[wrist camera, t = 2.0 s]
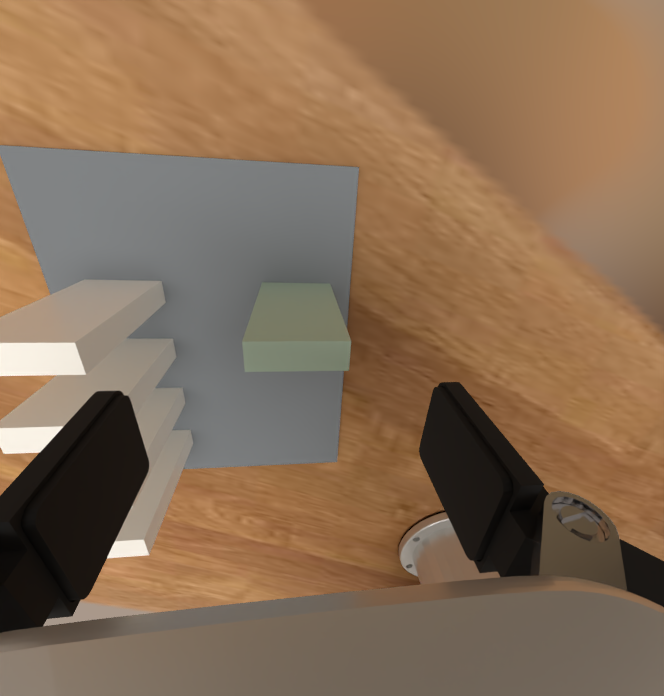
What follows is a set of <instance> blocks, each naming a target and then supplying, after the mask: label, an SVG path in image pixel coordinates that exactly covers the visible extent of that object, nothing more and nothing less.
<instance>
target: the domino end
mask: <svg viewBox="0 0 664 696" xmlns="http://www.w3.org/2000/svg"><path fill="white" fill-rule="evenodd" d="M242 346H243V357H244V369H245V372H284V371H349V363H350V351H351V339H350V336H349V334H348V331H347V328H346V326H345V323H344V320H343V317H342V315H341V312H340V309H339V306H338V304H337V301H336V298H335V296H334V293H333V290H332V287H331V285H330V284H325V283H271V282H262V284H261V287H260V290H259V293H258V296H257V299H256V302H255V305H254V308H253V311H252V314H251V317H250V320H249V323H248V326H247V329H246V332H245V335H244V337H243V340H242Z"/></svg>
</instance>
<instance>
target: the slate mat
mask: <svg viewBox="0 0 664 696" xmlns="http://www.w3.org/2000/svg"><path fill="white" fill-rule="evenodd" d="M0 156H1V158H2V161H3V164H4V167H5V169H6V172H7V175H8V178H9V181H10V183H11V186H12V189H13V192H14V194H15V197H16V200H17V203H18V205H19V208H20V211H21V214H22V217H23V219H24V222H25V225H26V228H27V230H28V233H29V236H30V239H31V242H32V244H33V247H34V250H35V253H36V255H37V258H38V261H39V264H40V266H41V269H42V272H43V275H44V278H45V280H46V283H47V286H48V289H49V291H50V294H53V293H56V292H58V291H60V290H62V289H65V288H67V287H69V286H71V285H74V284H76V283H78V282H80V281H83V280H140V281H162V286H163V291H164V296H165V301H166V303H165V304H164V305H163V306H161V307H160V308H159V309H158V310H157V311H156V312H155V313H154V314H153V315H152V316H150V317H149V318H148V319H147V320H146V321H145V322H144V323H143V324H142V325H140V326H139V327H138V328H137V329H136V330H135V331H134V332H133V333H132V334H130V335H129V336H128V337H127V338H126V339H173V342H174V347H175V352H176V358H175V360H174V361H173V363H172V364H171V365H170V367H169V368H168V370H167V371H166V373H165V374H164V376H163V377H162V378H161V380H160V381H159V383H158V384H157V386H156V387H155V388H183V393H184V398H185V405H184V407H183V409H182V411H181V413H180V415H179V417H178V419H177V421H176V423H175V425H174V427H173V429H172V430H191V434H192V439H193V445H192V448H191V450H190V453H189V455H188V458H187V460H186V463H185V465H184V468H183V469H195V468H217V467H239V466H260V465H282V464H303V463H325V462H337V456H338V442H339V429H340V415H341V402H342V389H343V375H344V371H284V372H245V369H244V357H243V346H242V340H243V337H244V335H245V332H246V329H247V326H248V323H249V320H250V317H251V314H252V311H253V308H254V305H255V302H256V299H257V296H258V293H259V290H260V287H261V284H262V282H271V283H325V284H330V285H331V287H332V290H333V293H334V296H335V298H336V301H337V304H338V306H339V309H340V312H341V315H342V317H343V320H344V323H345V326H346V328H347V321H348V308H349V294H350V281H351V267H352V254H353V241H354V227H355V214H356V200H357V187H358V173H359V167H346V166H330V165H314V164H297V163H281V162H265V161H248V160H232V159H216V158H199V157H183V156H167V155H150V154H134V153H118V152H101V151H85V150H69V149H52V148H36V147H20V146H3V145H0Z"/></svg>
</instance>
